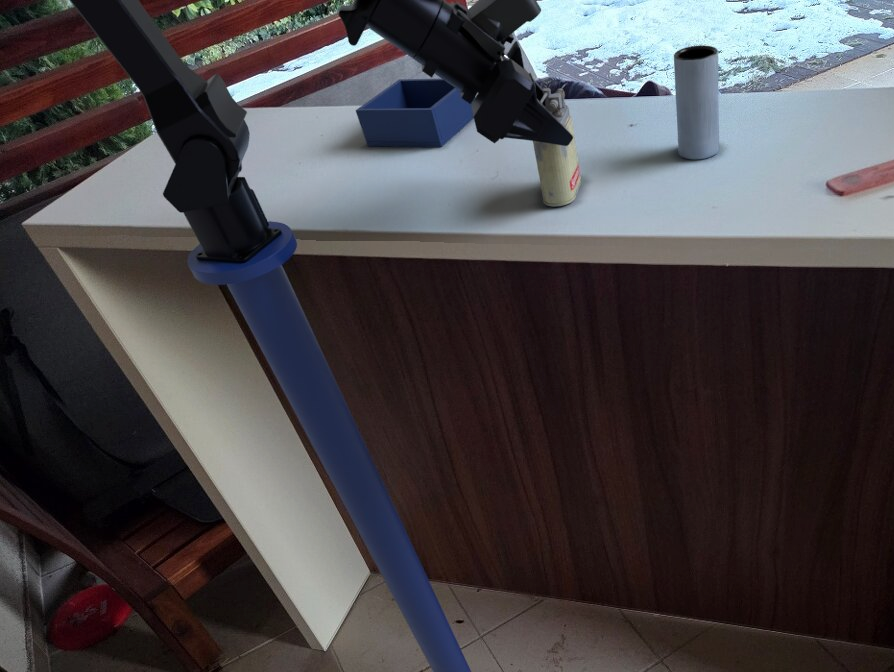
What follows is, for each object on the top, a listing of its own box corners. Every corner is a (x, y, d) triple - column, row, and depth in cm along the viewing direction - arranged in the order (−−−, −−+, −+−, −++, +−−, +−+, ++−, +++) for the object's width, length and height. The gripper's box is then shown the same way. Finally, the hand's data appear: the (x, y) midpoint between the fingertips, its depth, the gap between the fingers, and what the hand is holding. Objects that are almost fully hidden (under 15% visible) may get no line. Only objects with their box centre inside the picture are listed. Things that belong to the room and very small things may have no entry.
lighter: (572, 207, 78) (557, 108, 71) (537, 208, 78) (518, 110, 72) (584, 177, 83) (570, 82, 76) (551, 179, 83) (534, 84, 77)
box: (441, 147, 95) (431, 109, 92) (367, 146, 98) (355, 110, 95) (479, 113, 102) (471, 77, 99) (409, 113, 106) (399, 79, 102)
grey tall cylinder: (725, 144, 84) (724, 45, 77) (710, 161, 82) (708, 60, 75) (687, 142, 86) (683, 44, 79) (672, 158, 83) (666, 59, 76)
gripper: (481, -37, 58) (634, 86, 66) (467, -73, 71) (594, 32, 79) (411, 90, 63) (561, 189, 71) (410, 33, 76) (535, 122, 84)
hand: (564, 127), depth 76 cm, fingers open, 7 cm apart
